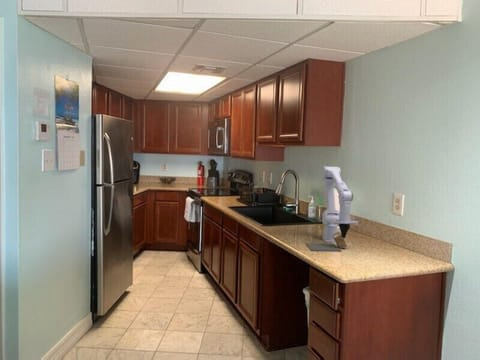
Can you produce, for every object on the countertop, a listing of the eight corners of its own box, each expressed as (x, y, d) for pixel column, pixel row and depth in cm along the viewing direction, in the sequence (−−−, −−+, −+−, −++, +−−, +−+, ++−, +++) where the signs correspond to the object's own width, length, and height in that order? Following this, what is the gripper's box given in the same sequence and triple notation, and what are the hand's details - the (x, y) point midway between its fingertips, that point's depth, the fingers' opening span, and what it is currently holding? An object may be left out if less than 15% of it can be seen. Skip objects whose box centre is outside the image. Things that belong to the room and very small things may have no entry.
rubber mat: (305, 244, 212) (305, 243, 212) (334, 244, 213) (334, 243, 213) (311, 251, 198) (311, 249, 198) (341, 251, 199) (341, 250, 199)
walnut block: (338, 247, 208) (331, 234, 207) (344, 243, 208) (338, 231, 207) (340, 249, 204) (333, 236, 203) (347, 245, 204) (340, 232, 203)
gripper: (333, 214, 200) (332, 239, 201) (360, 214, 200) (359, 239, 202) (330, 211, 207) (328, 236, 208) (356, 212, 207) (354, 236, 209)
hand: (343, 237), depth 205 cm, fingers closed
